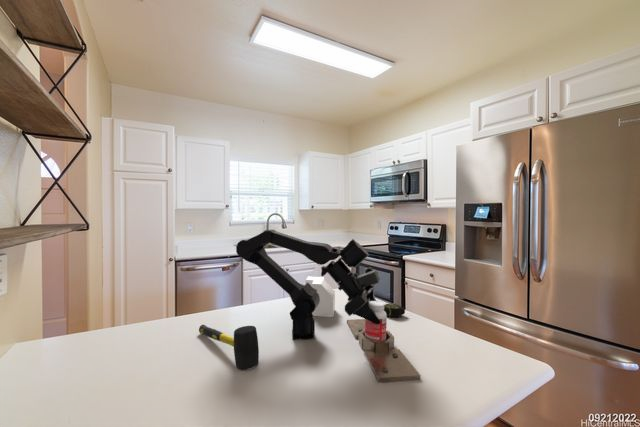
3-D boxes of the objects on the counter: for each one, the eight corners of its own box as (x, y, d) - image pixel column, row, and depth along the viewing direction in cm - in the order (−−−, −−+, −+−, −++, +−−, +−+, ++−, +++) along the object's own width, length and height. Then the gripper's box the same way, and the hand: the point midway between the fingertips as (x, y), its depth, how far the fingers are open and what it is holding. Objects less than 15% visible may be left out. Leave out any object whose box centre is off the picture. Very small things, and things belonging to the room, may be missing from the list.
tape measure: (405, 317, 102) (406, 307, 102) (392, 320, 99) (392, 310, 99) (392, 311, 108) (393, 301, 108) (379, 313, 105) (379, 304, 105)
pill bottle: (385, 347, 76) (386, 308, 76) (363, 344, 78) (364, 305, 78) (386, 337, 82) (387, 301, 82) (366, 334, 84) (367, 298, 84)
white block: (308, 305, 113) (308, 276, 113) (335, 306, 111) (335, 277, 111) (302, 315, 102) (303, 283, 102) (332, 317, 101) (333, 284, 101)
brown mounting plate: (420, 379, 64) (420, 366, 64) (379, 382, 63) (379, 369, 63) (374, 321, 97) (374, 313, 97) (346, 322, 96) (346, 314, 96)
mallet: (192, 337, 85) (192, 306, 85) (210, 330, 89) (210, 301, 89) (242, 376, 65) (242, 336, 65) (263, 366, 69) (263, 328, 69)
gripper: (357, 266, 72) (400, 313, 69) (368, 255, 90) (402, 292, 86) (328, 292, 75) (367, 339, 71) (344, 277, 92) (376, 314, 89)
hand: (380, 319), depth 79 cm, fingers closed on pill bottle, 6 cm apart
